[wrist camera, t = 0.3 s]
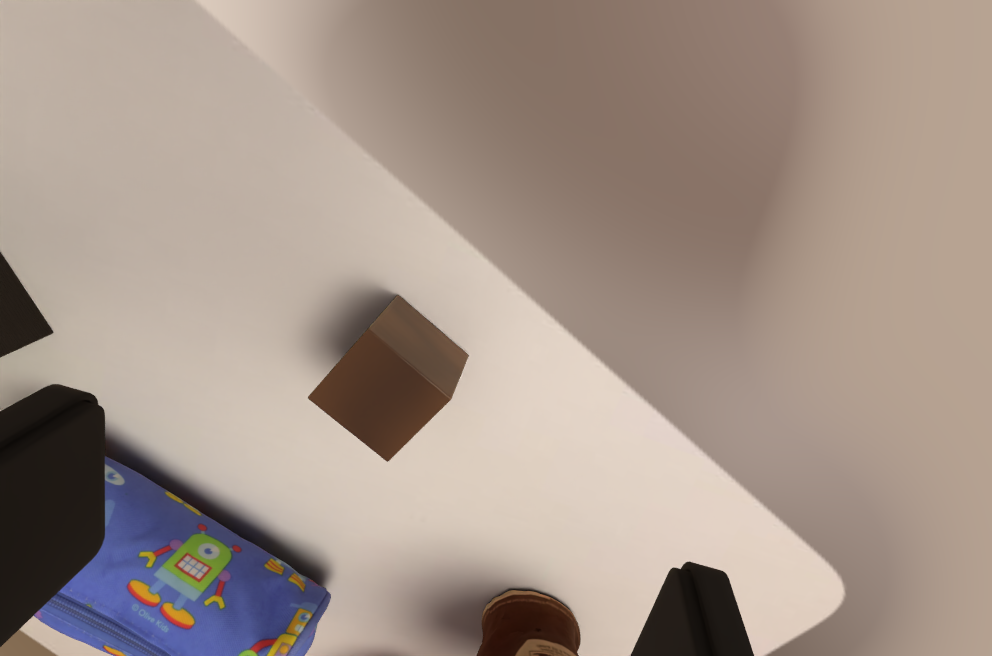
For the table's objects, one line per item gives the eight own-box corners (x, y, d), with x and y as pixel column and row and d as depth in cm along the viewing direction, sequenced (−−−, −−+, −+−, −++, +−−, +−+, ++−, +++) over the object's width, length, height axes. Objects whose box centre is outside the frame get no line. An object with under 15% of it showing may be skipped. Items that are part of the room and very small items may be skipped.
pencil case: (13, 474, 39) (-149, 584, 31) (49, 380, 36) (-120, 472, 28) (301, 640, 42) (228, 786, 33) (359, 565, 39) (295, 704, 30)
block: (344, 355, 33) (306, 398, 29) (398, 294, 32) (368, 328, 27) (412, 412, 34) (387, 462, 29) (469, 355, 32) (451, 398, 28)
